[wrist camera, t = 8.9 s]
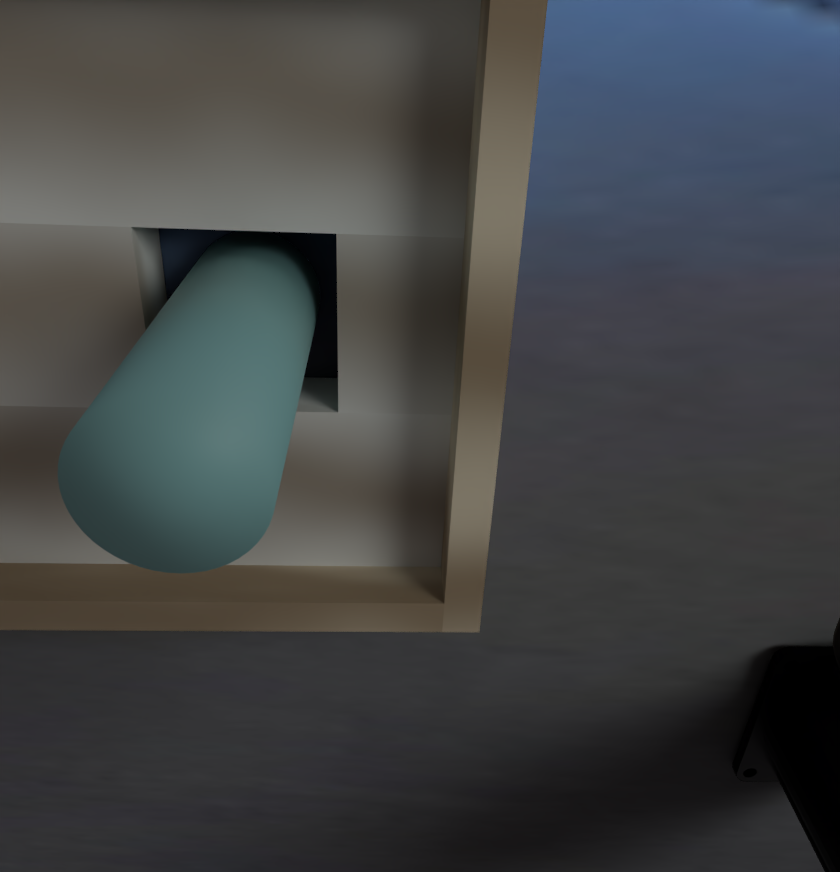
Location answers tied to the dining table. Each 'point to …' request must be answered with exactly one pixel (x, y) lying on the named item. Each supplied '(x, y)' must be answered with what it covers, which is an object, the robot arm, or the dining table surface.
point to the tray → (273, 212)
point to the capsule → (198, 413)
